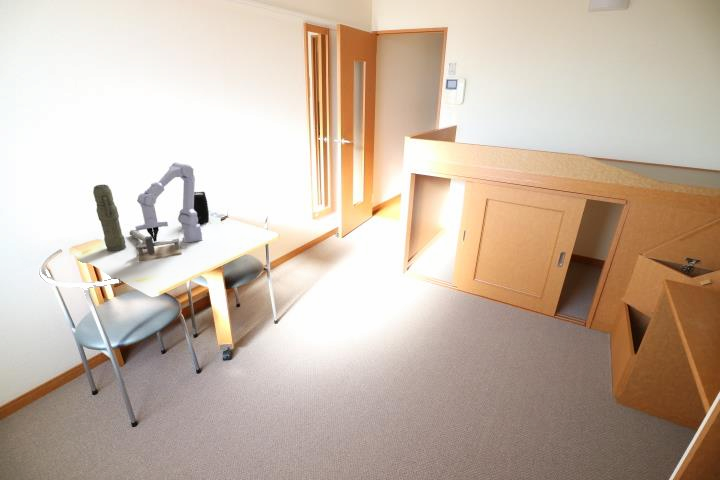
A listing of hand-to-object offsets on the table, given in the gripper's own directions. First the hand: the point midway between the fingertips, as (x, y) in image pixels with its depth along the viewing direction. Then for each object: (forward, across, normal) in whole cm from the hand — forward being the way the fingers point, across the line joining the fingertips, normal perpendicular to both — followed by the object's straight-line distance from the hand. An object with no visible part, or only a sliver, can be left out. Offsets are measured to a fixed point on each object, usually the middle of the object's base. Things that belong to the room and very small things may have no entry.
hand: (155, 240), depth 191 cm
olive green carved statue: (+8, +18, -17) cm, 26 cm away
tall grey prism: (+5, +3, 0) cm, 6 cm away
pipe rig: (+7, -1, 0) cm, 7 cm away
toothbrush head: (+8, +6, -21) cm, 23 cm away
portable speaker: (+8, -30, -37) cm, 49 cm away
